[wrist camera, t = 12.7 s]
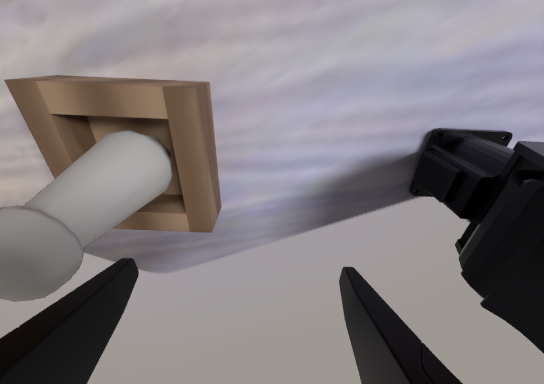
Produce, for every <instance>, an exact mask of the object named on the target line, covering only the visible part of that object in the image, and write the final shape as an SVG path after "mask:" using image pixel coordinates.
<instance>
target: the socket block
mask: <svg viewBox="0 0 544 384" xmlns="http://www.w3.org/2000/svg"><path fill="white" fill-rule="evenodd" d="M4 81H5V83H6V84H7V86H8V88H9V90H10V92H11V94H12V96H13V98H14V100H15V102H16V104H17V106H18V108H19V110H20V112H21V114H22V116H23V118H24V120H25V122H26V124H27V126H28V128H29V130H30V131H31V133H32V135H33V137H34V139H35V141H36V143H37V145H38V147H39V149H40V151H41V153H42V155H43V157H44V159H45V161H46V163H47V165H48V167H49V169H50V171H51V173H52V175H53V176H54V178H57V177H58V176H59V175H60V174H61V173H62V172H64V171H65V170H66V169H67V168H68V167H69V166H71V165H72V164H73V163H74V162H75V161H76V160H78V159H79V158H80V157H81V156H82V155H83V154H85V153H86V152H87V151H88V150H89V149H90V148H92V147H93V146H94V145H95V144H96V143H97V142H99V141H100V140H101V139H102V138H103V137H104V136H106V135H107V134H108V133H113V132H120V131H127V130H130V131H133V132H137V133H140V134H143V135H150V136H156V137H157V138H158V139H159V140H160V141H161V143H162V144H163V145H164V146H165V147H166V148H167V149H168V150H169V151H170V152H171V166H172V173H173V175H172V178H171V181H170V183H169V186H168V188H167V190H166V191H165V192H163V193H162V194H160V195H159V196H157V197H156V198H155V199H153V200H152V201H150V202H149V203H147V204H146V205H144V206H143V207H142V208H140V209H139V210H137V211H136V212H134V213H133V214H132V215H130V216H129V217H127V218H126V219H124V220H123V221H121V222H120V223H119V224H117V225H116V226H114V227H113V229H137V230H161V231H185V232H209V233H212V231H213V228H214V225H215V223H216V220H217V217H218V215H219V212H220V209H221V200H220V190H219V179H218V169H217V158H216V147H215V137H214V126H213V115H212V105H211V94H210V83H209V82H197V81H174V80H151V79H128V78H105V77H82V76H59V75H56V76H44V77H32V78H20V79H9V80H4Z"/></svg>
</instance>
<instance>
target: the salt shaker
mask: <svg viewBox="0 0 544 384" xmlns="http://www.w3.org/2000/svg"><path fill="white" fill-rule="evenodd" d="M172 175H173V173H172V166H171V152H170V151H169V150H168V149H167V148H166V147H165V146H164V145H163V144H162V143H161V141H160V140H159V139H158V138H157V137H156V136H150V135H143V134H140V133H137V132H133V131H130V130H127V131H120V132H113V133H108V134H107V135H106V136H104V137H103V138H102V139H101V140H100V141H99V142H97V143H96V144H95V145H94V146H93V147H92V148H90V149H89V150H88V151H87V152H86V153H85V154H83V155H82V156H81V157H80V158H79V159H78V160H76V161H75V162H74V163H73V164H72V165H71V166H69V167H68V168H67V169H66V170H65V171H64V172H62V173H61V174H60V175H59V176H58V177H57V178H55V179H54V180H53V181H52V182H51V183H50V184H48V185H47V186H46V187H45V188H44V189H43V190H41V191H40V192H39V193H38V194H37V195H36V196H34V197H33V198H32V199H31V200H30V201H29V202H27V203H26V204H25V205H24V206H23V207H21V206H12V207H2V208H0V299H5V300H10V301H15V302H16V301H26V300H34V299H40V298H44V297H46V296H48V295H50V294H51V293H53V292H55V291H56V290H57V289H59V288H60V287H61V286H62V285H64V284H65V283H66V282H67V281H69V280H70V279H71V278H72V276H73V275H74V274H75V273H76V272H77V270H78V269H79V268H80V265H81V263H82V259H83V254H84V249H83V248H84V247H85V246H87V245H88V244H90V243H91V242H93V241H94V240H96V239H97V238H98V237H100V236H101V235H103V234H104V233H106V232H107V231H109V230H110V229H111V228H113V227H114V226H116V225H117V224H119V223H120V222H121V221H123V220H124V219H126V218H127V217H129V216H130V215H132V214H133V213H134V212H136V211H137V210H139V209H140V208H142V207H143V206H144V205H146V204H147V203H149V202H150V201H152V200H153V199H155V198H156V197H157V196H159V195H160V194H162V193H163V192H165V191H166V190H167V188H168V186H169V183H170V181H171V178H172Z"/></svg>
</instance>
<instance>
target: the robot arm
mask: <svg viewBox="0 0 544 384" xmlns="http://www.w3.org/2000/svg"><path fill="white" fill-rule="evenodd" d="M439 133H441V134H440V136H438V137H437V135H438V134H439ZM504 136H505V137H504ZM503 137H504V138H503ZM502 138H503V139H502ZM511 139H512V133H510V132H507V131H493V130H470V129H447V128H438V129H436V130H434V131H433V133H432V134H431V137H430V139H429V142H428V144H427V147H426V149H425V152H424V153H423V155H422V158H421V160H420V163H419V165H418V168H417V170H416V173H415V175H414V179H413V182H412V184H411V187H410V189H409V192H410V193H411V194H412V195H413V196H426V197H429V196H430V197H435V198H436V199H437V200H438V201H439V202H441V203H443V204H445V205H446V206H447V207H448V208H449V209H450V210H451V211H453V212H454V213H455V214H456V215H457V216H458V217H459V218H461V219H466V220H467V221H468V222H470V224H469V226H468V227H467V229H466V230H465V232H464V234H463V235H462V237H461V238H460V239H458V240H457V242H456V244H455V246H456V248H457V251H458V253H459V261H460V264H461V268H462V270H463V271H462V272H461V275H462V276H463V278H464V279H465V280H466V281H467V283H468V284H469V286H470V287H471V288H472V289H474V290H475V291H476V292H477V293H478V294H479V295H480V296H481V297H482V298H483V301H482V302H481V303H480V304H481V306H482V307H483V308H485V309H487V310H488V311H490V312H492V313H494V314H495V315H497V316H499V317H500V318H502V319H503V320H505V321H506V322H507V323H509V324H510V325H512V326H513V327H514V328H516V329H517V330H518V331H520V332H521V333H522V334H523V335H524V336H525V337H527V338H528V339H529V340H530V341H531V342H532V343H533V344H534V345H535V346H536V347H537V348H538V349H540V350H541V351H542V352H543V353H544V142H527V141H518V142H517V144H516V145H515V147H514V149H510V148H508V147H507V145H508V144H509V142H510V140H511ZM416 189H417V190H416ZM415 190H416V191H415ZM414 191H415V192H414ZM138 274H139V273H138V269H137V266H136V263H135V261H134V259H132V258H122V259H120V260H119V261H117V262H116V263H114V264H113V265H111V266H110V267H108V268H107V269H105V270H104V271H102V272H100V273H99V274H97V275H96V276H94V277H93V278H91V279H90V280H89V281H87V282H85V283H84V284H82V285H81V286H79V287H78V288H76V289H75V290H74V291H72V292H70V293H69V294H67V295H66V296H64V297H63V298H61V299H60V300H58V301H57V302H55V303H54V304H52V305H50V306H49V307H47V308H46V309H44V310H43V311H41V312H40V313H38V314H37V315H36V316H34V317H32V318H31V319H29V320H28V321H26V322H25V323H23V324H22V325H20V326H19V328H16V329H14V330H13V331H11V332H9V333H8V334H6V335H5V336H3V337H2V338H0V384H87V382H88V380H89V378H90V376H91V374H92V372H93V371H94V369H95V366H96V365H97V363H98V361H99V359H100V357H101V355H102V353H103V351H104V349H105V347H106V345H107V343H108V341H109V339H110V338H111V336H112V334H113V332H114V330H115V328H116V326H117V324H118V322H119V320H120V318H121V316H122V314H123V312H124V310H125V307H126V305H127V303H128V300H129V298H130V295H131V293H132V290H133V288H134V285H135V283H136V280H137V278H138ZM339 285H340V291H341V297H342V304H343V311H344V317H345V322H346V326H347V330H348V334H349V337H350V341H351V345H352V348H353V352H354V356H355V360H356V364H357V367H358V371H359V375H360V379H361V382H362V384H463V383H461V382H460V381H459V380H458V379H457V378H456V377H455V376H454V375H453V374H452V373H451V372H450V371H449V370H448V369H447V368H446V367H445V366H444V365H443V364H442V362H440V360H439V359H438V358H437V357H436V356H435V355H434V354H433V353H432V352H431V351H430V350H429V349H428V348H427V347H426V345H425V344H424V343H422V342H421V340H420V339H419V338H418V337H417V336H416V335H415V334H414V333H413V331H412V330H411V329H410V328H409V327H408V326H407V325H406V324H405V323H404V322H403V321H402V320H401V318H400V317H399V316H398V315H397V314H396V313H395V312H394V311H393V310H392V309H391V308H390V307H389V305H388V304H387V303H386V302H385V301H384V300H383V299H382V298H381V297H380V296H379V295H378V293H377V292H376V291H375V290H374V289H373V288H372V287H371V286H370V285H369V284H368V283H367V281H366V280H365V279H364V278H363V277H362V276H361V275H360V274H359V273H358V272H357V271H356V270H355V269H354V268H353V267H343V269H342V272H341V276H340V280H339Z"/></svg>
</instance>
